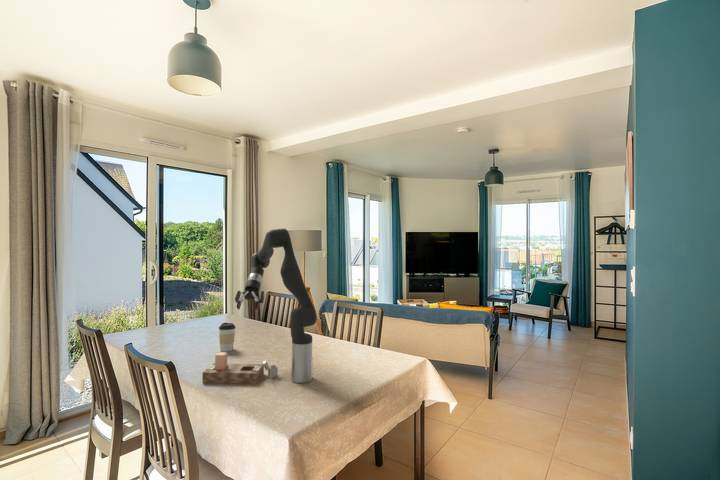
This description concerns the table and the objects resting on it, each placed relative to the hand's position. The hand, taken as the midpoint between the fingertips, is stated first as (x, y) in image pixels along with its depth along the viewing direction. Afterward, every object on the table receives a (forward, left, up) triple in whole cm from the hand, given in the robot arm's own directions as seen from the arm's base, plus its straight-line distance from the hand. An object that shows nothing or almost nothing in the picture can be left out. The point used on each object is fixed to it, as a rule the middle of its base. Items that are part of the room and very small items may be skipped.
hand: (246, 308), depth 185 cm
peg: (+6, +17, -28) cm, 33 cm away
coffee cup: (+19, -25, -29) cm, 43 cm away
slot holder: (0, +17, -29) cm, 33 cm away
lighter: (-16, +15, -29) cm, 36 cm away
